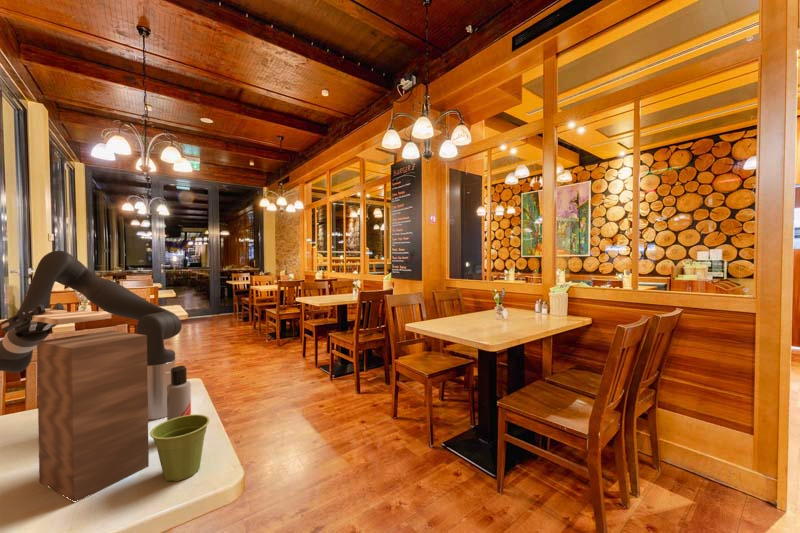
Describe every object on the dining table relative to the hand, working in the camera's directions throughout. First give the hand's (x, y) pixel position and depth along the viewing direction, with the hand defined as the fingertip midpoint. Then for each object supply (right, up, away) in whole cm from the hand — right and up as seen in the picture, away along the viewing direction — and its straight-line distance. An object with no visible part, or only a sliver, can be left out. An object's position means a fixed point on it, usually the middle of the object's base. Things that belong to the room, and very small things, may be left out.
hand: (51, 307), depth 88 cm
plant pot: (+39, -38, -8) cm, 55 cm away
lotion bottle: (+28, -38, +9) cm, 48 cm away
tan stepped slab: (+5, -2, -3) cm, 7 cm away
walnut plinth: (+19, -38, -8) cm, 44 cm away
